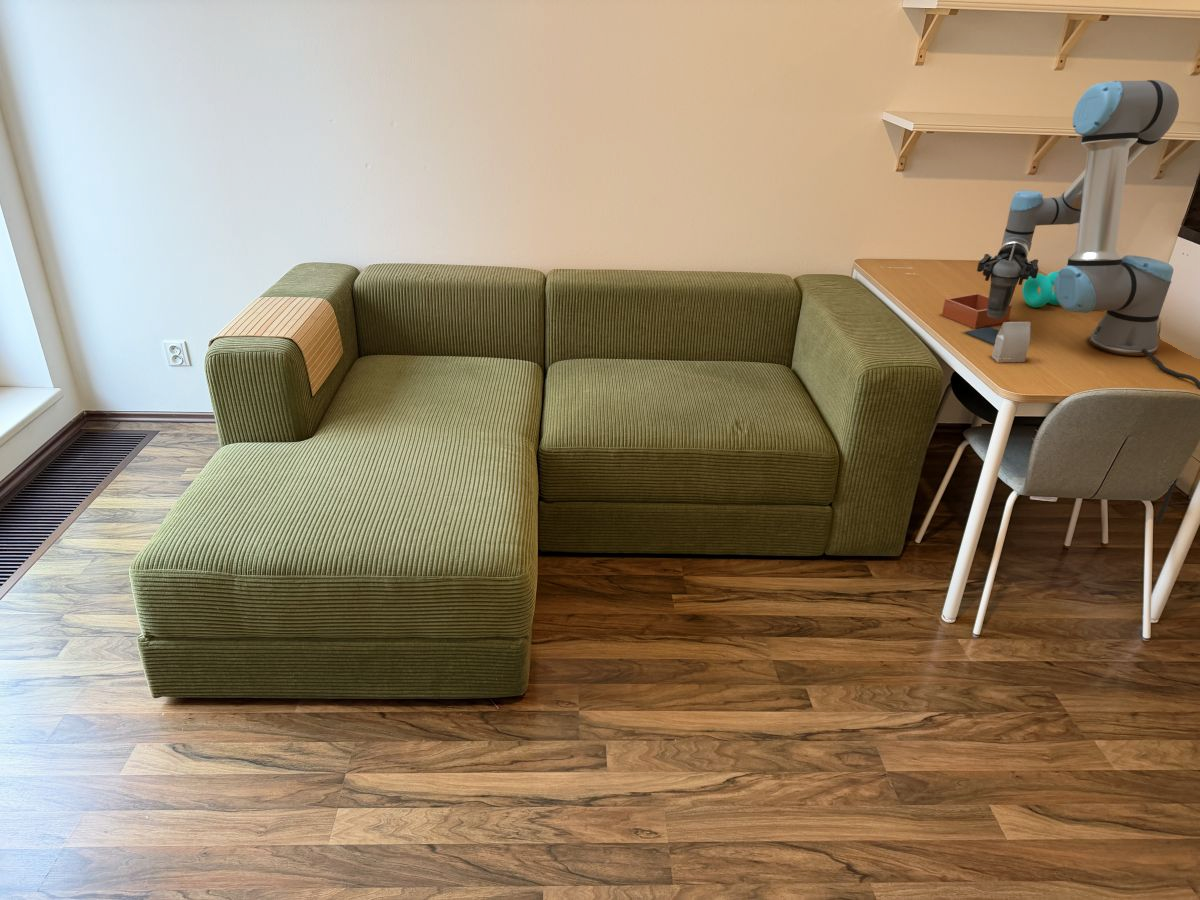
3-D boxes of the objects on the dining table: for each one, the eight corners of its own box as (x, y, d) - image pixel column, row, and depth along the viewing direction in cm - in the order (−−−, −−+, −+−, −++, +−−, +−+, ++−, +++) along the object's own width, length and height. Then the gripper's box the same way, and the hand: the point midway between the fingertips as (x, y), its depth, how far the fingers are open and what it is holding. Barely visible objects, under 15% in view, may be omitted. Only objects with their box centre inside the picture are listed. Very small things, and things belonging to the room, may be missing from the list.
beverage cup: (1005, 311, 220) (1022, 238, 210) (1014, 320, 213) (1033, 246, 204) (977, 311, 220) (994, 238, 211) (986, 320, 214) (1003, 246, 204)
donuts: (1068, 308, 238) (1077, 275, 234) (1041, 312, 236) (1049, 279, 231) (1043, 298, 247) (1052, 267, 242) (1016, 302, 244) (1024, 270, 240)
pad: (1018, 339, 217) (1019, 338, 217) (993, 345, 214) (994, 343, 214) (989, 328, 225) (990, 326, 225) (965, 333, 222) (965, 331, 222)
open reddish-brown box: (1008, 321, 229) (1012, 305, 227) (974, 328, 225) (978, 311, 223) (974, 309, 240) (977, 293, 237) (941, 315, 235) (945, 298, 233)
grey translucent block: (1024, 361, 204) (1034, 324, 199) (998, 362, 203) (1007, 325, 199) (1017, 356, 207) (1027, 319, 202) (991, 356, 207) (1000, 320, 202)
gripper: (1048, 273, 222) (1043, 297, 205) (971, 264, 231) (959, 286, 213) (1055, 246, 218) (1051, 268, 201) (976, 238, 227) (965, 258, 210)
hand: (1004, 277), depth 207 cm, fingers closed on beverage cup, 7 cm apart
